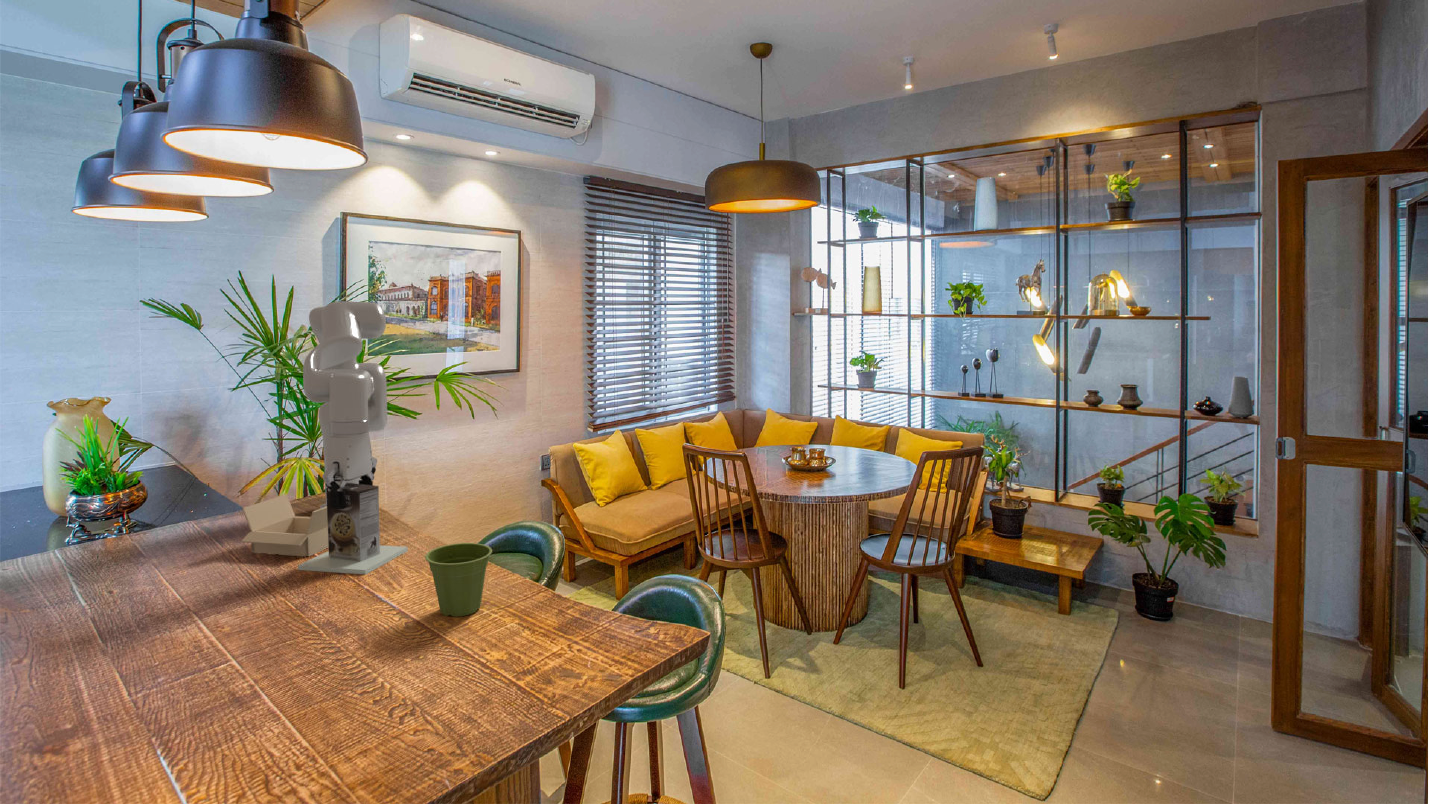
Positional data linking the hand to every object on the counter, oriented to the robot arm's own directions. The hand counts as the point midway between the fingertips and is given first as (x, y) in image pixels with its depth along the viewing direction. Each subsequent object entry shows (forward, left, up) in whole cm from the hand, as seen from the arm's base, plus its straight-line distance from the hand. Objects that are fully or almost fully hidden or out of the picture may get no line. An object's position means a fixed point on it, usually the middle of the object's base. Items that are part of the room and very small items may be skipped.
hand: (352, 502), depth 157 cm
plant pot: (+22, +37, -14) cm, 45 cm away
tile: (0, 0, -13) cm, 13 cm away
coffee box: (0, 0, -13) cm, 13 cm away
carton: (-7, -19, -13) cm, 24 cm away
